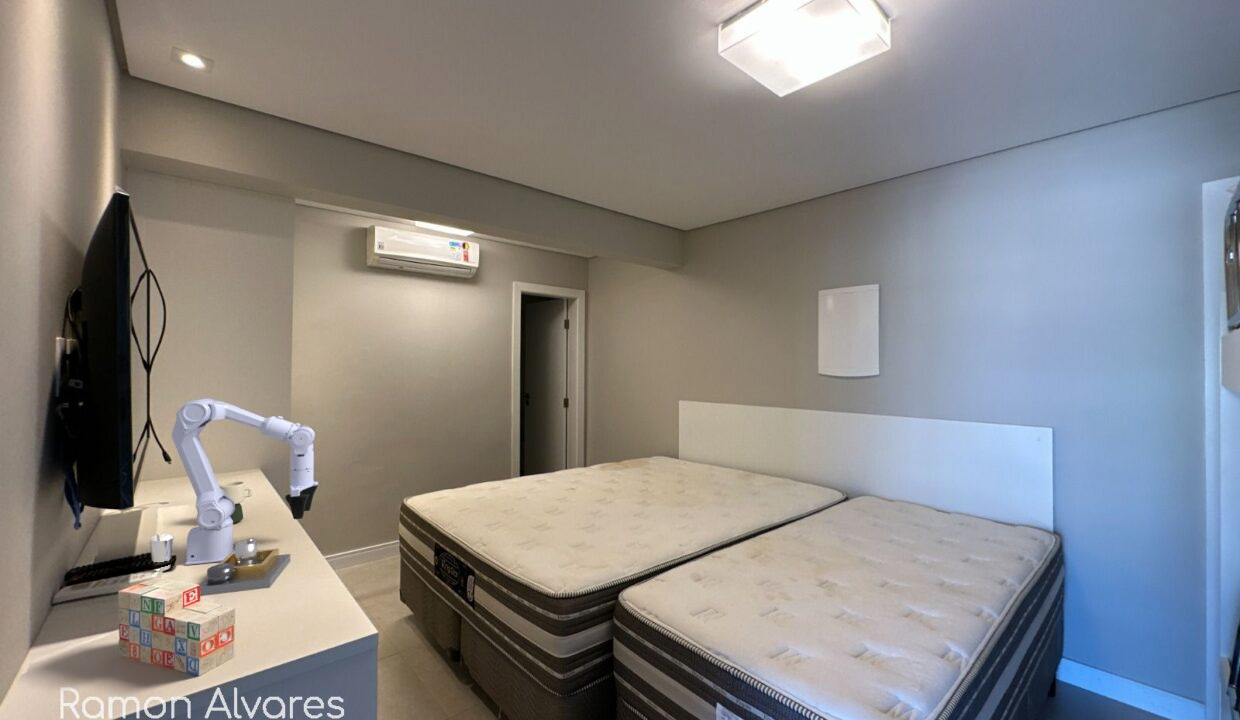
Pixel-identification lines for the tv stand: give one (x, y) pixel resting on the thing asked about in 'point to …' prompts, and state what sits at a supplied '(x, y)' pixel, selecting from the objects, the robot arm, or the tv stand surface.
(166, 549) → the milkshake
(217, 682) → the tv stand surface
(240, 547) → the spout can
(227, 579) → the grey piece
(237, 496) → the character mug
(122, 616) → the stack of blocks
